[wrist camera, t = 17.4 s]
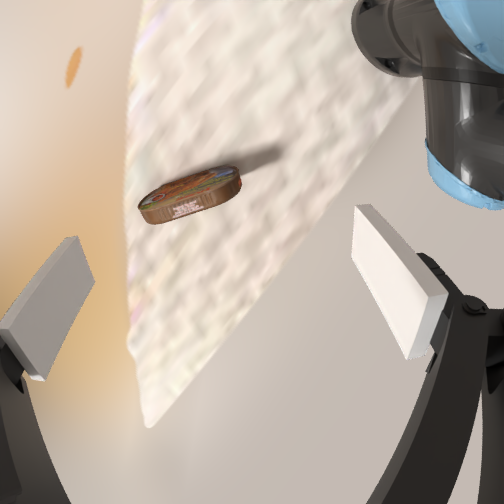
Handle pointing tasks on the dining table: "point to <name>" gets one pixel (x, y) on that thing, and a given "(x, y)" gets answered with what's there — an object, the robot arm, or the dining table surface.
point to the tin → (190, 195)
